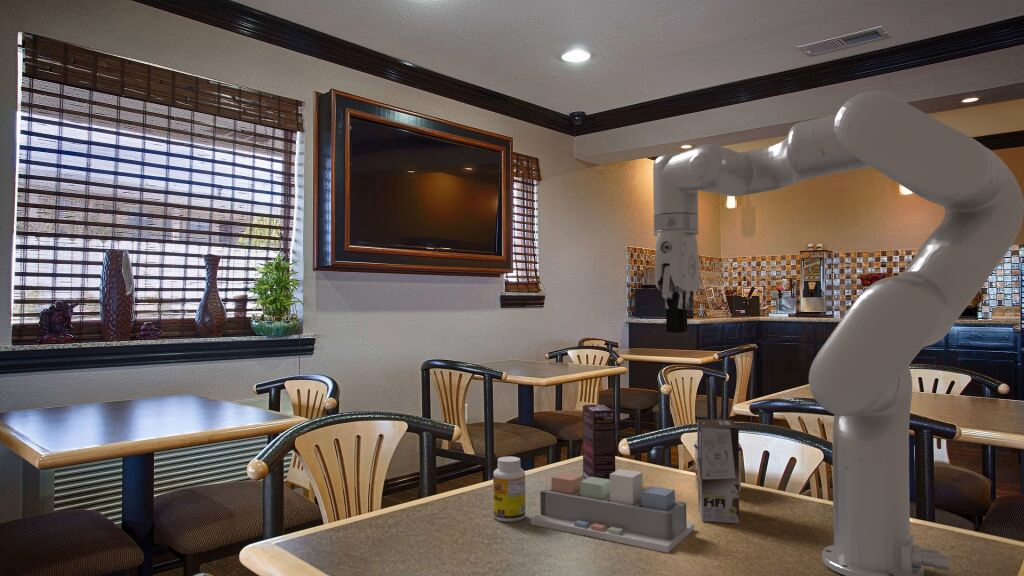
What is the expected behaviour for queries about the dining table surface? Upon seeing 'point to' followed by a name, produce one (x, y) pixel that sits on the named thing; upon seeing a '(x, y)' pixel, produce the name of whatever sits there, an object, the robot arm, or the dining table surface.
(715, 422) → the coffee box
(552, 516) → the grey block holder
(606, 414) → the supplement box
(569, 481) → the pink block
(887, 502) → the robot arm
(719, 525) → the dining table surface
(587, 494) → the key
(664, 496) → the blue-grey block
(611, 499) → the key
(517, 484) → the supplement bottle
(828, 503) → the dining table surface
